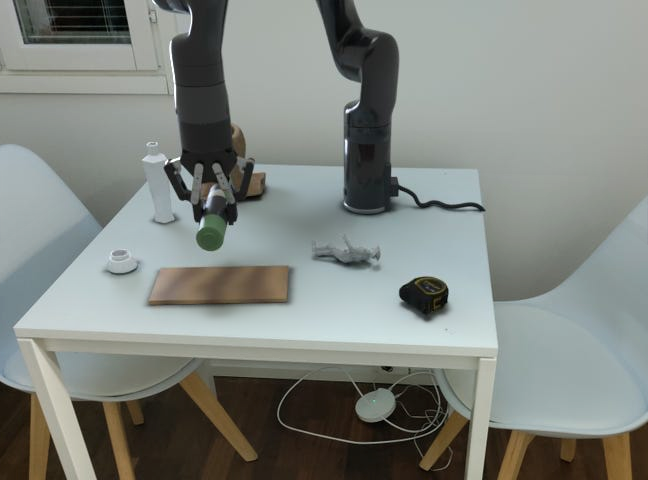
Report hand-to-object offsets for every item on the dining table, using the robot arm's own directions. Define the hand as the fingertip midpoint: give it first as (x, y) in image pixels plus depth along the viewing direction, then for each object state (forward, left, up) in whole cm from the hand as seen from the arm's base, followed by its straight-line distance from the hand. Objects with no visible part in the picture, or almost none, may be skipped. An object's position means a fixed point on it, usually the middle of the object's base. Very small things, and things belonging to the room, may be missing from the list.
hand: (216, 223), depth 111 cm
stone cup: (+2, -38, -12) cm, 40 cm away
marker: (0, 0, -1) cm, 1 cm away
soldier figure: (-21, -8, -12) cm, 25 cm away
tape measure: (-33, +8, -12) cm, 36 cm away
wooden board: (0, 0, -11) cm, 11 cm away
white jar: (+18, -7, -12) cm, 23 cm away
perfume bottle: (+14, -27, -12) cm, 33 cm away
